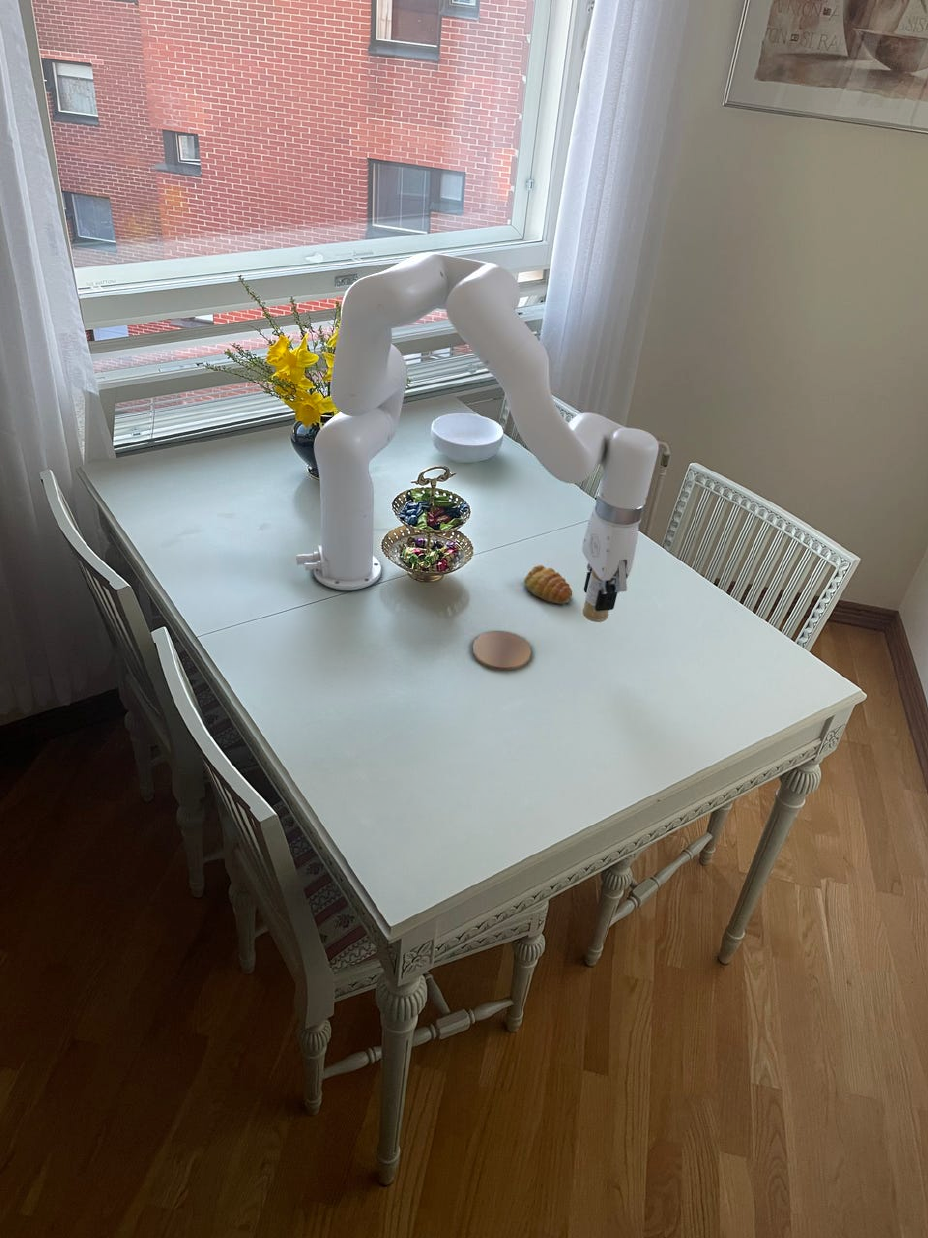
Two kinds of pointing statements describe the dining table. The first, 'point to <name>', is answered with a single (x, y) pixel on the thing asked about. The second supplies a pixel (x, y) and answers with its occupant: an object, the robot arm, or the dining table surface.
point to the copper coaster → (501, 650)
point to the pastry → (548, 585)
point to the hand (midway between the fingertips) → (598, 599)
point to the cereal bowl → (466, 437)
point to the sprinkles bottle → (594, 599)
